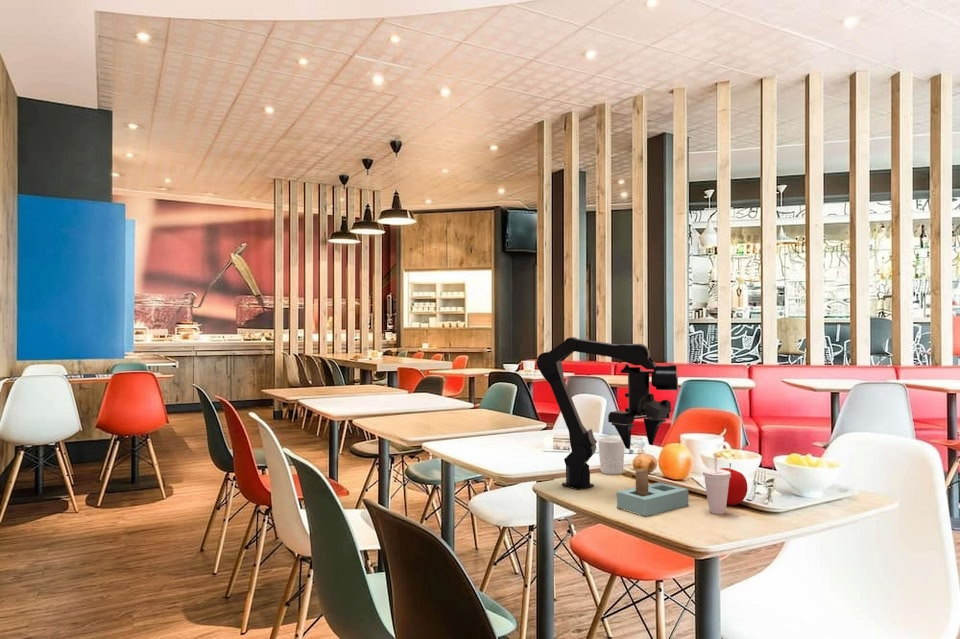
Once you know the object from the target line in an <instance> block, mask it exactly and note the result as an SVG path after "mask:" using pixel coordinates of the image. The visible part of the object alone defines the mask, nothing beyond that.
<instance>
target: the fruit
mask: <svg viewBox="0 0 960 639" xmlns="http://www.w3.org/2000/svg"><path fill="white" fill-rule="evenodd" d="M731 466H732V463H731V462H730V463H729V468H728V467H722V468H721V467H720V468H719V469H722V470H726V471H729V472H730V473H731V477H730V478H729V487H728V495H727V504H726V506H736V505H739V504H740V503H741V502H743V501H744V499H745V498H746V496H747V493H748V482H747V481H748V480H747V479H746V477H745V475H744V474H743V473H742V472H741V471H737V470H735V469H732V468H731Z"/></svg>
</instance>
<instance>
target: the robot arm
mask: <svg viewBox="0 0 960 639" xmlns="http://www.w3.org/2000/svg"><path fill="white" fill-rule="evenodd" d="M575 352H576V353H583V354H588V355H596V356H601V357H606V358H607V357H609V358H613V359H616V360H619V361H621V362H625V363H627V364H625V366H624V367H623V368H622V369H621V370H620V374H627V392H625V393H624V398H627V403H628V404H627V405H628V406H627V407H625V408H624V410H617V411H610V412H609V413H608V415H607V421H608V423H610V424H611V425H612V426H614V428H615V430H616V431H617V433H618V435H619V437H620V439H622V441H623V443H624V448H625V449H627V450H630V449H631V443H632V430H633V428H634V427H635V426H636V425H635V424H633V423H634V421H635V420H638V419H639V420H640V419H643V423H644V428H645V433H646V439H647V443H648V445H649V446H653V445H654V442H655V440H656V437H657V436H656V435H657V433H658V432H659V427H660V426H661V425H662V424H664V423H665V422H667V419H670V413H672V402H671V401H670V400H668V399H662V400H661V401H660V400H658V401H657V400H656V399H655V395H654V394H653V393H652V392H651V393H650V390H651V388H650V374H651V386H652V387H653V388H655V390H656V391H679V376H678V369H677V368H678V366H677V365H675V364H670V365H657V364H656V362H655V361H654V360H653V358H652V357H651V352H650V350H649V348H648V346H646V345H645V344H643V343H620V344H619V343H618V344H617V343H609V342H602V341H597V340H596V341H595V340H590V339H589V340H588V339H583V338H577V337H575V336H572V337H571V336H570V337H567V338H566V339H565V340H564V341H563V342H561V343H560V344H559V345H557V346H555V347H554V348H552V349H551V350H549V351H546V352H542V353H540V354H539V355H538V356H537V359H536V360H535V361H536V367H537V369H538V371H539V372H540V373H541V375H542V377H543V378H544V379H545V380H546V381H547V383H548V384H549V386H550V388H551V391H552V393H553V395H554V398H555V401H556V403H557V405H558V408H559V410H560V413H561V415H562V418H563V420H564V422H565V425H566V428H567V430H568V434H569V436H568V438H569V445H570V449H571V452H570V453H569V454H567V456H566V457H564V459H563V462H564V463H565V482H562V483H561V486H564V487H567V488H571V489H574V490H580V489H585V488H590V487H594V484H593V483H591V471H590V465H589V464H588V462H589V461H590V459H591V458H592V456H593V455H594V454H595V453H596V450H597V443H598V441H597V440H596V438H595V437H594V432H593V429H592V428H590V429H588V430H587V428H586V427H584V425H583V422H582V420H581V418H580V416H579V414H578V411H577V408H576V406H575V404H574V401H573V398H572V396H571V393H570V391H569V388H568V386H567V384H566V381H565V378H564V376H565V375H564V368H563V363H562V362H563V361H564V360H566V359H567V358H568V357H570V355H572V354H573V353H575ZM629 364H630V365H634V366H630V365H629ZM642 367H643V368H644V369H646V370H642Z"/></svg>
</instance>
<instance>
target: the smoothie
mask: <svg viewBox="0 0 960 639" xmlns="http://www.w3.org/2000/svg"><path fill="white" fill-rule="evenodd" d="M713 457H714V462H713V463H714V468H707V469H703V470H702V476H703V477H704V484H705V490H706V497H707V498H706V499H707V504H708V506H707V507H708V510H709V511H708V512H709V513H710V514H715V515H723V514H724V515H725V514H726V512H727V505H726V504H727V495H728V487H729V478H730V477H731V473H730V472H729V471H726V470H722V469H720V468H718V454H717V453H714V456H713Z"/></svg>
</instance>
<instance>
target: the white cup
mask: <svg viewBox="0 0 960 639" xmlns="http://www.w3.org/2000/svg"><path fill="white" fill-rule="evenodd" d="M597 442H598V455H599V457H598V458H599V464H600V466H599V468H600V472H601V473H602V474H605V475H612V476H613V475H622V474H623V473H624V461H625V445H624V443H623V441H622V439H621V437H620V438H619V437H601V438H598V441H597Z"/></svg>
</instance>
